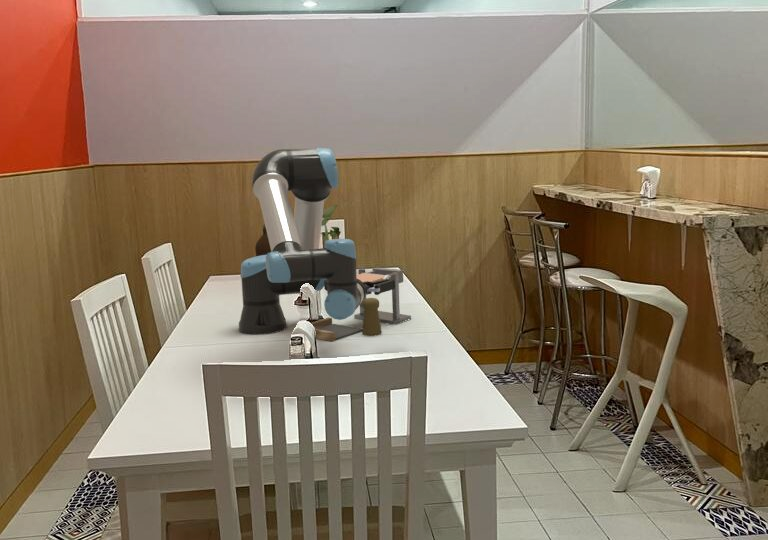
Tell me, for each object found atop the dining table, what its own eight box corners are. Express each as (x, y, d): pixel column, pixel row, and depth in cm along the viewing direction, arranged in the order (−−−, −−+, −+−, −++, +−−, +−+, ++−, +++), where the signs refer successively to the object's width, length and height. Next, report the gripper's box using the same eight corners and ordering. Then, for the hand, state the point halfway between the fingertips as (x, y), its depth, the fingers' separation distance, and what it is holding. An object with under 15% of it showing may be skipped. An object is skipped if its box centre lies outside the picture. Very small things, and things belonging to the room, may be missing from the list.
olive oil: (287, 281, 320) (284, 223, 316) (272, 286, 311) (269, 226, 307) (267, 280, 325) (264, 223, 321) (252, 284, 316) (248, 226, 312)
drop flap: (376, 278, 253) (376, 267, 252) (404, 282, 246) (403, 270, 245) (339, 290, 238) (338, 277, 238) (366, 293, 231) (366, 281, 230)
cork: (358, 334, 228) (357, 299, 226) (368, 330, 234) (366, 295, 232) (375, 336, 226) (374, 301, 224) (385, 331, 231) (384, 297, 229)
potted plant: (351, 279, 321) (348, 198, 315) (330, 285, 309) (326, 201, 303) (322, 276, 330) (318, 197, 324) (301, 282, 317) (296, 200, 311)
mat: (305, 334, 231) (305, 332, 231) (333, 325, 241) (333, 323, 241) (336, 340, 223) (336, 338, 223) (364, 330, 233) (364, 328, 233)
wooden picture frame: (297, 334, 231) (296, 326, 230) (328, 324, 242) (328, 317, 241) (332, 341, 221) (331, 333, 221) (363, 330, 233) (363, 323, 232)
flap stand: (371, 313, 256) (369, 266, 254) (411, 319, 246) (409, 270, 243) (354, 318, 250) (352, 270, 247) (394, 324, 239) (392, 274, 236)
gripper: (305, 308, 199) (323, 292, 219) (397, 307, 195) (407, 292, 215) (303, 280, 197) (321, 267, 218) (396, 279, 194) (406, 266, 214)
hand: (364, 279), depth 217 cm, fingers open, 13 cm apart
